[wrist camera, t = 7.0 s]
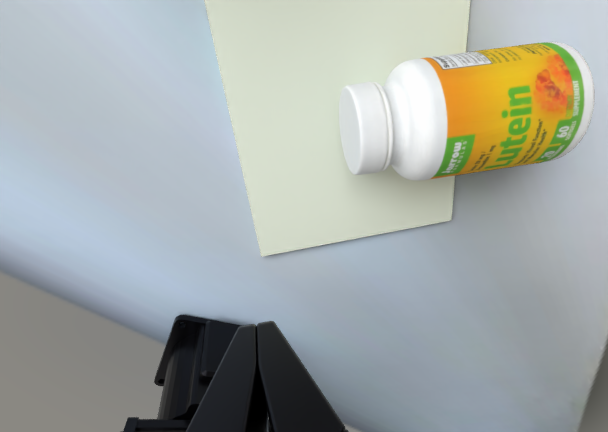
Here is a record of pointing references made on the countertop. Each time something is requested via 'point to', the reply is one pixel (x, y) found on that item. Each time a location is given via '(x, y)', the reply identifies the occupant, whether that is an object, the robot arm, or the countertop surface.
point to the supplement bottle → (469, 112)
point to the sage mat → (324, 111)
